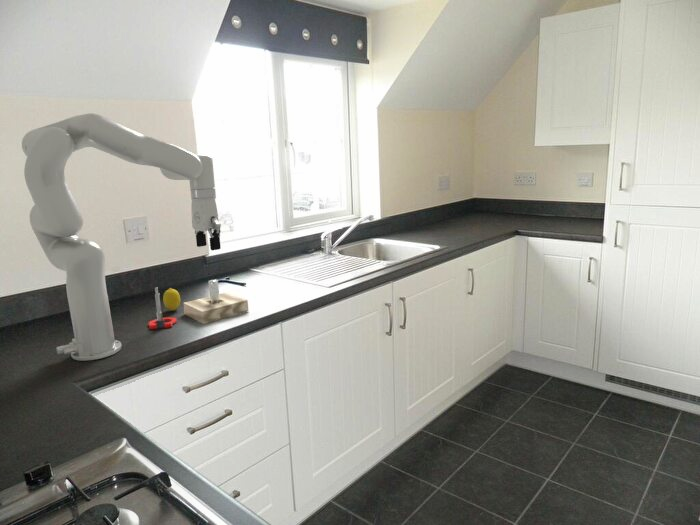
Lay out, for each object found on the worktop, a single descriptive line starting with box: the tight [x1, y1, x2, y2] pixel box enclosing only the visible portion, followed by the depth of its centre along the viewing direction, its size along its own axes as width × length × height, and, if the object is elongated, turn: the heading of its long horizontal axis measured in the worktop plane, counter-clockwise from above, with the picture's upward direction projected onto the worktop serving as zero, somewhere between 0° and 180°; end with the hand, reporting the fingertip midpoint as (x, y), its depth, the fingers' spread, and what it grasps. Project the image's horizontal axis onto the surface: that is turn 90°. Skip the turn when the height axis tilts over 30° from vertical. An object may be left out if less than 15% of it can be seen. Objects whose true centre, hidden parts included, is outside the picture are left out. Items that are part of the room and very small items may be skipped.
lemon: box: [162, 287, 182, 312], centre depth 176 cm, size 6×6×8 cm
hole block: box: [182, 291, 249, 325], centre depth 172 cm, size 16×14×4 cm
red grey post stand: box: [147, 287, 178, 330], centre depth 163 cm, size 8×13×9 cm
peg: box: [208, 279, 220, 304], centre depth 171 cm, size 3×3×11 cm
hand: (208, 247), depth 167 cm, fingers open, 9 cm apart
